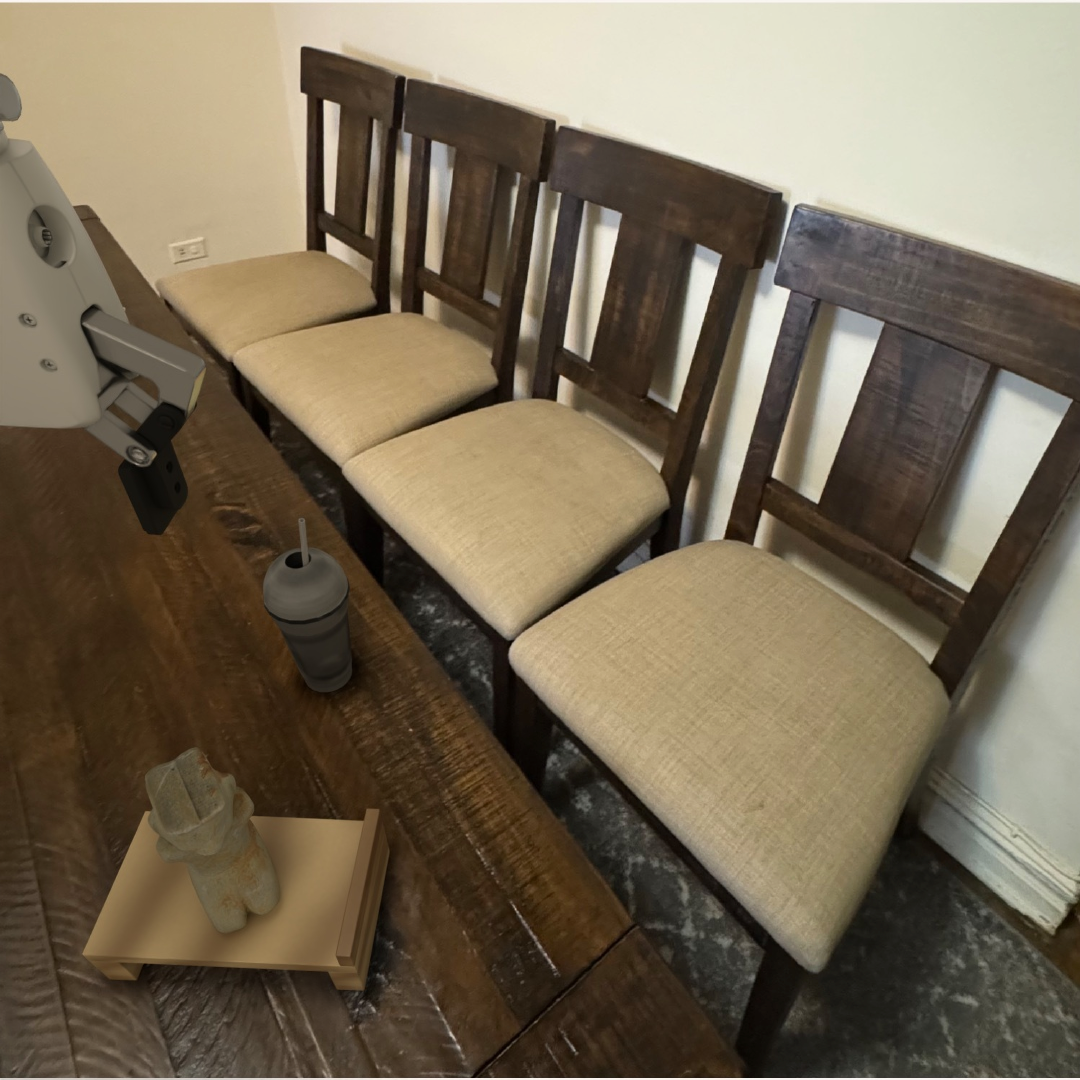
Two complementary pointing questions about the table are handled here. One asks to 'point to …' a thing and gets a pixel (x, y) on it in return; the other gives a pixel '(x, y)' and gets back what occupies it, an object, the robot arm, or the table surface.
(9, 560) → the table surface
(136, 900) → the shelf
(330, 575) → the beverage cup
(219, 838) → the sculpture
